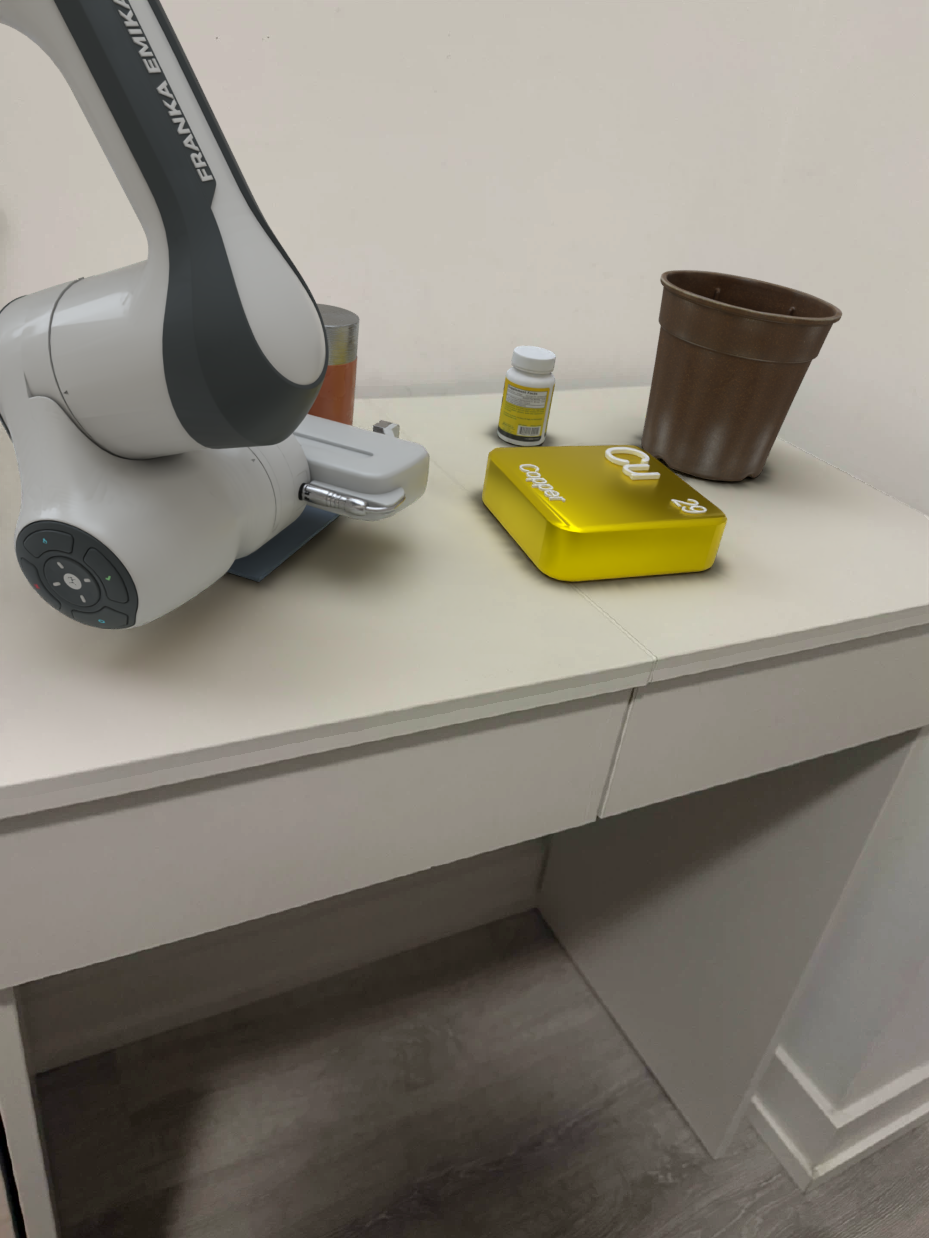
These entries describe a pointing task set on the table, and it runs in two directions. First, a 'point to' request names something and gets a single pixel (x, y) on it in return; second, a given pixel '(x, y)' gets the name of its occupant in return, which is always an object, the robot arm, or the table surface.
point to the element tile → (601, 512)
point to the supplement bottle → (527, 396)
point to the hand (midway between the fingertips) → (335, 417)
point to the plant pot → (728, 370)
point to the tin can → (338, 366)
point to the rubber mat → (282, 544)
